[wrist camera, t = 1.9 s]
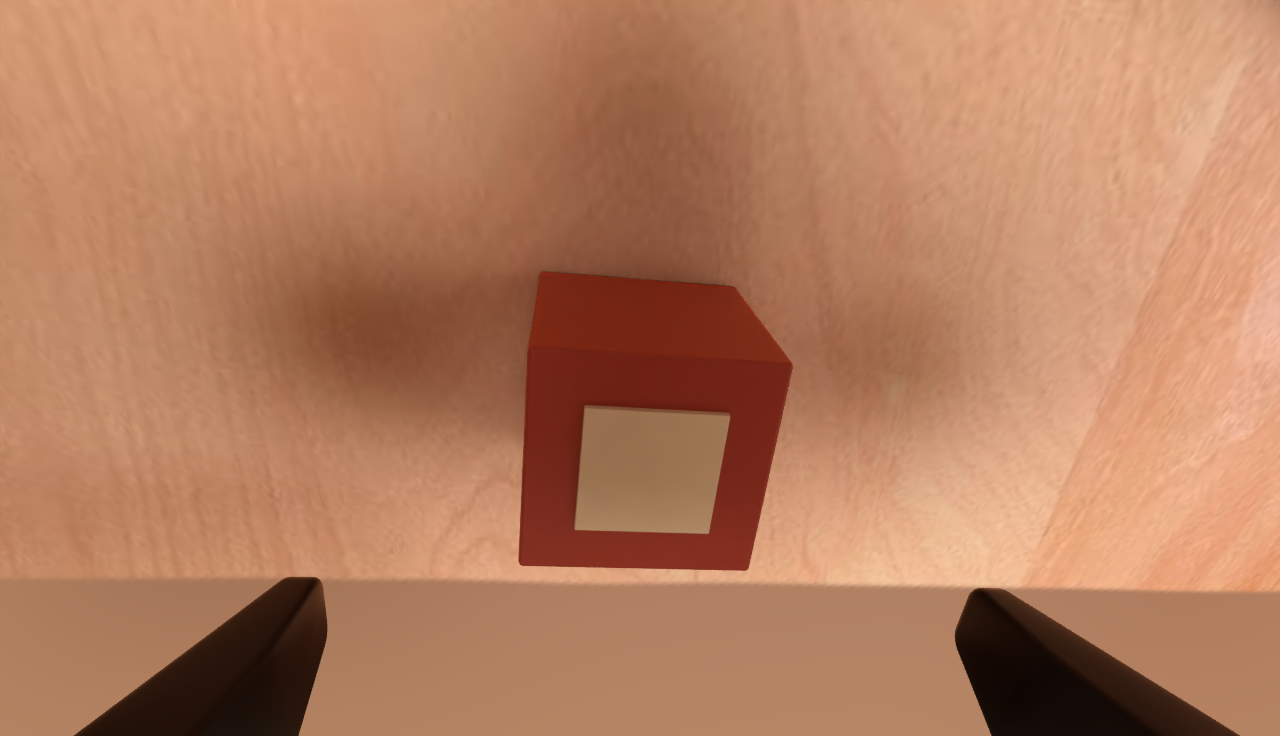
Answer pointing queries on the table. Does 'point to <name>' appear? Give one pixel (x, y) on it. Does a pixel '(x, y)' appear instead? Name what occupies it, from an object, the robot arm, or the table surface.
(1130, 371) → the table surface
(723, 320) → the red cube
